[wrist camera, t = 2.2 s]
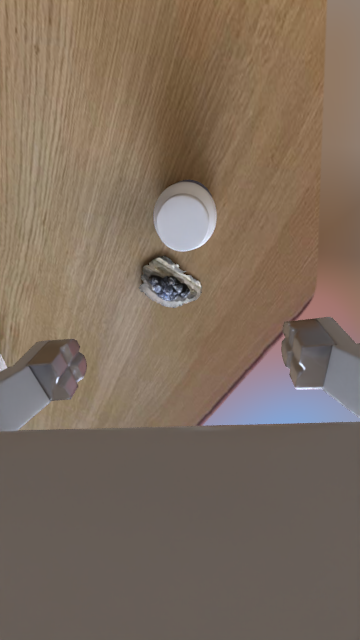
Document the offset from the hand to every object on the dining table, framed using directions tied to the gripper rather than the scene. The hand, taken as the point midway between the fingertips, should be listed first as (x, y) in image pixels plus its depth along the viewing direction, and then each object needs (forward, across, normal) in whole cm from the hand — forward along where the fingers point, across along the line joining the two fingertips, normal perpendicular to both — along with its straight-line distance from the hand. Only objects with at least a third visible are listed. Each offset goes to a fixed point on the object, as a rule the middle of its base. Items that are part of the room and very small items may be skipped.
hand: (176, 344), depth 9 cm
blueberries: (+21, +3, +6) cm, 22 cm away
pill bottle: (+21, 0, -3) cm, 21 cm away
